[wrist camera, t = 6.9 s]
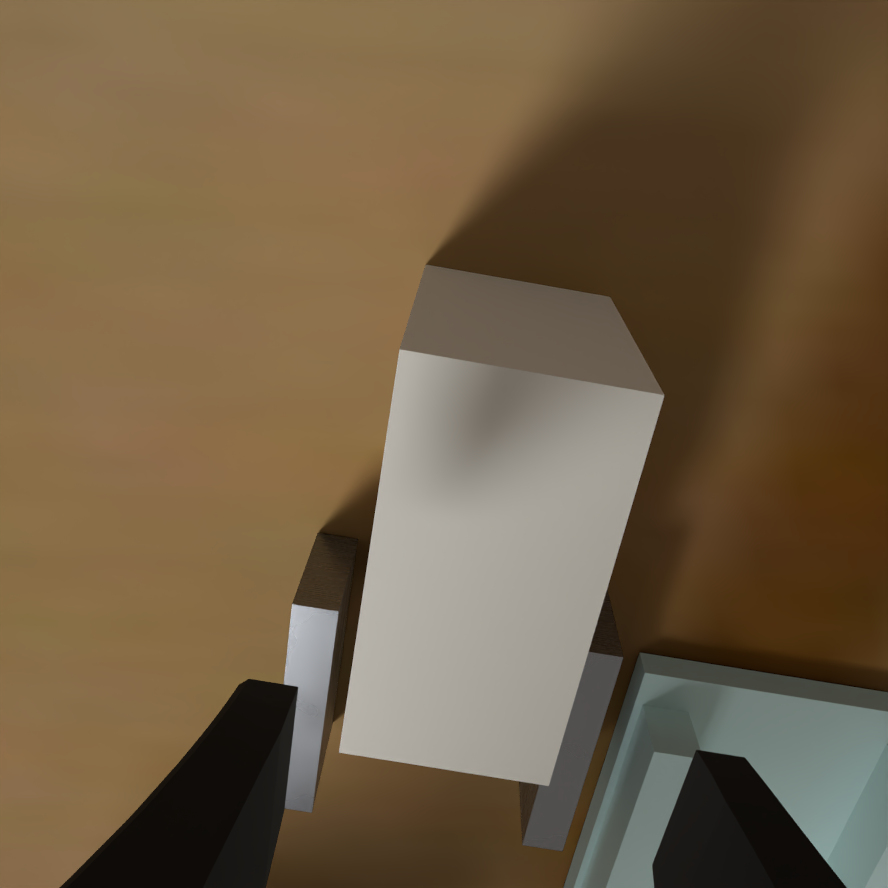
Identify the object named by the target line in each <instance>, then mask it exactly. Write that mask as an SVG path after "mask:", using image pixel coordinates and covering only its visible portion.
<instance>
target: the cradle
mask: <svg viewBox="0 0 888 888" xmlns="http://www.w3.org/2000/svg"><path fill="white" fill-rule="evenodd" d="M696 750H702V751H708V752H714V753H721V754H727V755H733V756H740V757H745V758H746V759H747V761H748V762H749V763H750V764H751V766H752V767H753V768H754V769H755V771H756V772H757V773H758V774H759V776H760V777H761V778H762V779H763V781H764V782H765V783H766V784H767V786H768V787H769V788H770V790H771V791H772V792H773V794H774V795H775V796H776V797H777V799H778V800H779V801H780V803H781V804H782V805H783V807H784V808H785V809H786V810H787V812H788V813H789V814H790V816H791V817H792V818H793V819H794V821H795V822H796V823H797V825H798V826H799V827H800V829H801V830H802V831H803V832H804V834H805V835H806V836H807V838H808V839H809V840H810V841H811V843H812V844H813V845H814V847H815V848H816V849H817V850H818V852H819V853H820V854H821V856H822V857H823V858H824V859H825V861H826V862H827V863H828V865H829V866H830V867H831V868H832V870H833V871H834V872H835V873H836V875H837V876H838V877H839V878H840V880H841V881H842V882H843V883H844V885H845V886H846V887H847V888H888V692H883V691H876V690H870V689H864V688H858V687H851V686H845V685H839V684H833V683H827V682H820V681H814V680H808V679H802V678H796V677H789V676H783V675H777V674H771V673H764V672H758V671H752V670H746V669H740V668H733V667H727V666H721V665H715V664H708V663H702V662H696V661H690V660H684V659H677V658H671V657H665V656H659V655H652V654H646V653H639V656H638V659H637V662H636V665H635V668H634V671H633V674H632V677H631V680H630V683H629V686H628V690H627V693H626V696H625V699H624V702H623V705H622V708H621V711H620V714H619V717H618V720H617V724H616V727H615V730H614V733H613V736H612V739H611V742H610V745H609V748H608V751H607V754H606V758H605V761H604V764H603V767H602V770H601V773H600V776H599V779H598V782H597V785H596V788H595V791H594V795H593V798H592V801H591V804H590V807H589V810H588V813H587V816H586V819H585V822H584V825H583V829H582V832H581V835H580V838H579V841H578V844H577V847H576V850H575V853H574V856H573V859H572V862H571V866H570V869H569V872H568V875H567V878H566V881H565V884H564V887H563V888H654V880H653V870H652V864H653V861H654V859H655V856H656V853H657V851H658V848H659V846H660V843H661V840H662V838H663V835H664V832H665V830H666V827H667V825H668V822H669V819H670V817H671V814H672V812H673V809H674V806H675V804H676V801H677V798H678V796H679V793H680V791H681V788H682V785H683V783H684V780H685V778H686V775H687V772H688V770H689V767H690V764H691V762H692V759H693V757H694V754H695V751H696Z"/></svg>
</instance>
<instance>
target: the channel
mask: <svg viewBox="0 0 888 888" xmlns="http://www.w3.org/2000/svg"><path fill="white" fill-rule="evenodd" d="M357 543H358V539H353V538H347V537H341V536H335V535H328V534H322V533H318V534H317V536H316V539H315V542H314V545H313V548H312V550H311V553H310V556H309V559H308V561H307V564H306V567H305V570H304V573H303V575H302V578H301V581H300V584H299V586H298V589H297V592H296V595H295V598H294V600H293V603H292V610H291V620H290V630H289V639H288V649H287V658H286V668H285V678H284V685H290V686H297V687H298V695H297V703H296V712H295V721H294V730H293V739H292V747H291V756H290V765H289V774H288V783H287V792H286V800H285V809H292V810H298V811H305V812H311V813H312V810H313V806H314V801H315V797H316V793H317V788H318V784H319V780H320V776H321V771H322V767H323V763H324V758H325V754H326V750H327V745H328V741H329V737H330V732H331V728H332V724H333V716H334V709H335V702H336V695H337V687H338V680H339V673H340V666H341V659H342V651H343V644H344V637H345V630H346V622H347V615H348V608H349V601H350V594H351V586H352V579H353V572H354V565H355V557H356V550H357ZM622 660H623V653H622V649H621V645H620V641H619V637H618V632H617V628H616V624H615V620H614V616H613V611H612V607H611V603H610V599H609V594H608V590H607V591H606V594H605V598H604V601H603V605H602V608H601V611H600V615H599V618H598V621H597V625H596V628H595V632H594V635H593V638H592V642H591V645H590V648H589V652H588V655H587V659H586V662H585V665H584V669H583V672H582V675H581V679H580V682H579V686H578V689H577V692H576V696H575V699H574V702H573V706H572V709H571V713H570V716H569V719H568V723H567V726H566V729H565V733H564V736H563V740H562V743H561V746H560V750H559V753H558V756H557V760H556V763H555V767H554V770H553V773H552V777H551V780H550V784H549V786H545V785H539V784H533V783H527V782H520V781H519V788H520V809H521V829H522V845H526V846H532V847H539V848H545V849H552V850H558V851H563V848H564V845H565V841H566V838H567V835H568V832H569V829H570V826H571V822H572V819H573V816H574V813H575V810H576V806H577V803H578V800H579V797H580V794H581V791H582V787H583V784H584V781H585V778H586V775H587V772H588V768H589V765H590V762H591V759H592V756H593V752H594V749H595V746H596V743H597V740H598V737H599V733H600V730H601V727H602V724H603V721H604V718H605V714H606V711H607V708H608V705H609V702H610V698H611V695H612V692H613V689H614V686H615V683H616V679H617V676H618V673H619V670H620V667H621V663H622Z"/></svg>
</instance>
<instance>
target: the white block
mask: <svg viewBox="0 0 888 888" xmlns="http://www.w3.org/2000/svg"><path fill="white" fill-rule="evenodd" d="M663 399H664V393H663V392H662V390H661V388H660V386H659V384H658V383H657V381H656V379H655V377H654V375H653V373H652V372H651V370H650V368H649V366H648V364H647V363H646V361H645V359H644V357H643V355H642V354H641V352H640V350H639V348H638V346H637V345H636V343H635V341H634V339H633V337H632V336H631V334H630V332H629V330H628V328H627V326H626V325H625V323H624V321H623V319H622V317H621V316H620V314H619V312H618V310H617V308H616V307H615V305H614V303H613V301H612V299H611V298H610V297H608V296H603V295H597V294H591V293H586V292H580V291H574V290H568V289H563V288H557V287H551V286H546V285H540V284H534V283H529V282H523V281H517V280H512V279H506V278H500V277H494V276H489V275H483V274H477V273H472V272H466V271H460V270H455V269H449V268H443V267H438V266H432V265H425V268H424V271H423V275H422V278H421V281H420V284H419V288H418V291H417V294H416V297H415V301H414V304H413V307H412V310H411V314H410V317H409V320H408V324H407V327H406V330H405V333H404V337H403V340H402V343H401V346H400V350H399V356H398V363H397V370H396V376H395V383H394V390H393V396H392V403H391V410H390V416H389V423H388V430H387V436H386V443H385V449H384V456H383V463H382V469H381V476H380V483H379V489H378V496H377V503H376V509H375V516H374V523H373V529H372V536H371V543H370V549H369V556H368V563H367V569H366V576H365V583H364V589H363V596H362V602H361V609H360V616H359V622H358V629H357V636H356V642H355V649H354V656H353V662H352V669H351V676H350V682H349V689H348V696H347V702H346V709H345V716H344V722H343V729H342V736H341V742H340V749H339V753H345V754H351V755H358V756H364V757H370V758H376V759H383V760H389V761H395V762H401V763H408V764H414V765H420V766H426V767H433V768H439V769H445V770H451V771H458V772H464V773H470V774H476V775H483V776H489V777H495V778H501V779H508V780H514V781H520V782H527V783H533V784H539V785H545V786H549V784H550V780H551V777H552V773H553V770H554V767H555V763H556V760H557V756H558V753H559V750H560V746H561V743H562V740H563V736H564V733H565V729H566V726H567V723H568V719H569V716H570V713H571V709H572V706H573V702H574V699H575V696H576V692H577V689H578V686H579V682H580V679H581V675H582V672H583V669H584V665H585V662H586V659H587V655H588V652H589V648H590V645H591V642H592V638H593V635H594V632H595V628H596V625H597V621H598V618H599V615H600V611H601V608H602V605H603V601H604V598H605V594H606V591H607V588H608V584H609V581H610V578H611V574H612V571H613V567H614V564H615V561H616V557H617V554H618V551H619V547H620V544H621V540H622V537H623V534H624V530H625V527H626V524H627V520H628V517H629V513H630V510H631V507H632V503H633V500H634V497H635V493H636V490H637V486H638V483H639V480H640V476H641V473H642V470H643V466H644V463H645V459H646V456H647V453H648V449H649V446H650V443H651V439H652V436H653V432H654V429H655V426H656V422H657V419H658V416H659V412H660V409H661V405H662V402H663Z"/></svg>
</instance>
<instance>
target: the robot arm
mask: <svg viewBox="0 0 888 888" xmlns="http://www.w3.org/2000/svg"><path fill="white" fill-rule="evenodd" d="M297 695H298V687H297V686H290V685H284V684H278V683H271V682H265V681H259V680H252V679H248V680H246V681H245V682H243V683H241V684H240V685H238V687H237V688H236V690H235V691H234V693H233V694H232V696H231V697H230V699H229V700H228V701H227V703H226V704H225V705H224V707H223V708H222V709H221V711H220V712H219V714H218V715H217V716H216V717H215V719H214V720H213V721H212V723H211V724H210V725H209V727H208V728H207V729H206V730H205V732H204V733H203V734H202V735H201V737H200V738H199V739H198V740H197V741H196V743H195V744H194V745H193V746H192V747H191V749H190V750H189V751H188V752H187V753H186V755H185V756H184V757H183V758H182V759H181V761H180V762H179V763H178V764H177V765H176V766H175V768H174V769H173V770H172V771H171V772H170V773H169V774H168V775H167V777H166V778H165V779H164V780H163V781H162V782H161V783H160V784H159V785H158V787H157V788H156V789H155V790H154V791H153V792H152V793H151V794H150V796H149V797H148V798H147V799H146V800H145V801H144V802H143V803H142V805H141V806H140V807H139V808H138V809H137V810H136V811H135V812H134V813H133V814H132V815H131V817H130V818H129V819H128V820H127V821H126V822H125V823H124V824H123V825H122V826H121V827H120V828H119V829H118V830H117V831H116V832H115V833H114V834H113V835H112V836H111V837H110V838H109V839H108V840H107V841H106V842H105V843H104V844H103V845H102V846H101V847H100V848H99V849H98V850H97V851H96V852H95V853H94V854H93V855H92V856H91V857H90V858H89V859H88V860H87V861H86V862H85V863H84V864H83V865H82V866H81V867H80V868H79V869H78V870H77V871H76V872H75V873H74V874H73V875H72V876H71V877H70V878H69V879H68V880H67V881H66V882H65V883H64V884H63V885H62V886H61V887H60V888H266V884H267V880H268V876H269V872H270V868H271V863H272V859H273V855H274V851H275V847H276V843H277V838H278V834H279V830H280V826H281V821H282V817H283V813H284V809H285V800H286V792H287V783H288V774H289V765H290V756H291V747H292V739H293V730H294V721H295V712H296V703H297ZM652 870H653V880H654V888H847V887H846V886H845V885H844V883H843V882H842V881H841V880H840V878H839V877H838V876H837V875H836V873H835V872H834V871H833V870H832V868H831V867H830V866H829V865H828V863H827V862H826V861H825V859H824V858H823V857H822V856H821V854H820V853H819V852H818V850H817V849H816V848H815V847H814V845H813V844H812V843H811V841H810V840H809V839H808V838H807V836H806V835H805V834H804V832H803V831H802V830H801V829H800V827H799V826H798V825H797V823H796V822H795V821H794V819H793V818H792V817H791V816H790V814H789V813H788V812H787V810H786V809H785V808H784V807H783V805H782V804H781V803H780V801H779V800H778V799H777V797H776V796H775V795H774V794H773V792H772V791H771V790H770V788H769V787H768V786H767V784H766V783H765V782H764V781H763V779H762V778H761V777H760V776H759V774H758V773H757V772H756V771H755V769H754V768H753V767H752V766H751V764H750V763H749V762H748V761H747V759H746V758H745V757H740V756H733V755H727V754H721V753H714V752H708V751H702V750H696V751H695V754H694V757H693V759H692V762H691V764H690V767H689V770H688V772H687V775H686V778H685V780H684V783H683V785H682V788H681V791H680V793H679V796H678V798H677V801H676V804H675V806H674V809H673V812H672V814H671V817H670V819H669V822H668V825H667V827H666V830H665V832H664V835H663V838H662V840H661V843H660V846H659V848H658V851H657V853H656V856H655V859H654V861H653V864H652Z"/></svg>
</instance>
